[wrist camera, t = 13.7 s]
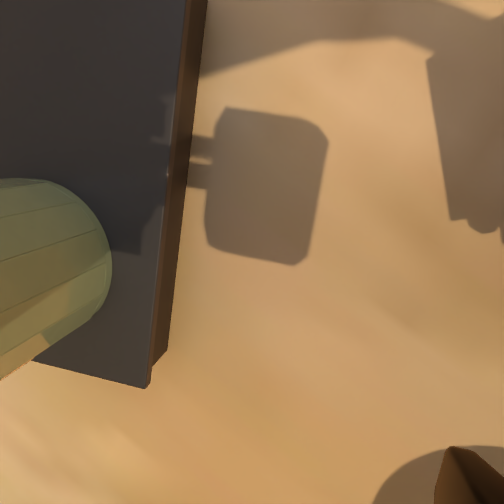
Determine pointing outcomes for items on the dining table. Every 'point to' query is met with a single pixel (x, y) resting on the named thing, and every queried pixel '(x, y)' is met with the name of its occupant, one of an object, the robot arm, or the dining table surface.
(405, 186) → the dining table surface
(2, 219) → the cup
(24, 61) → the box
